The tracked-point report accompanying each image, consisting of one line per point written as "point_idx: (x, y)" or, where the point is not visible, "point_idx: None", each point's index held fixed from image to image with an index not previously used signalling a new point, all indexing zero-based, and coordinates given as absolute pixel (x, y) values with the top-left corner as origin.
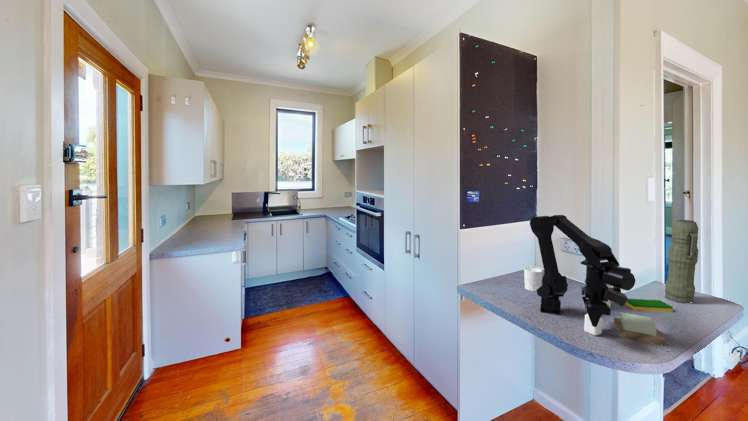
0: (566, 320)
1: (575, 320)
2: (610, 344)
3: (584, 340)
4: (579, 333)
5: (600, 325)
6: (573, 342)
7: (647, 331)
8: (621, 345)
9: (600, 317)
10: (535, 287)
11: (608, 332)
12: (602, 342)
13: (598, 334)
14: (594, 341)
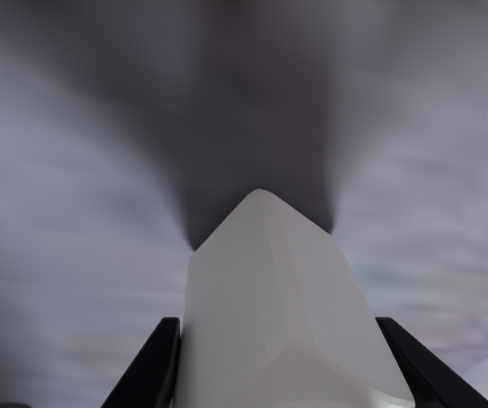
0: (108, 378)
1: (58, 332)
2: (472, 145)
3: (430, 307)
4: None
5: (318, 270)
6: (470, 357)
7: None
8: (483, 39)
9: (348, 384)
10: None
11: (180, 106)
12: (442, 202)
13: (301, 215)
14: (434, 253)
